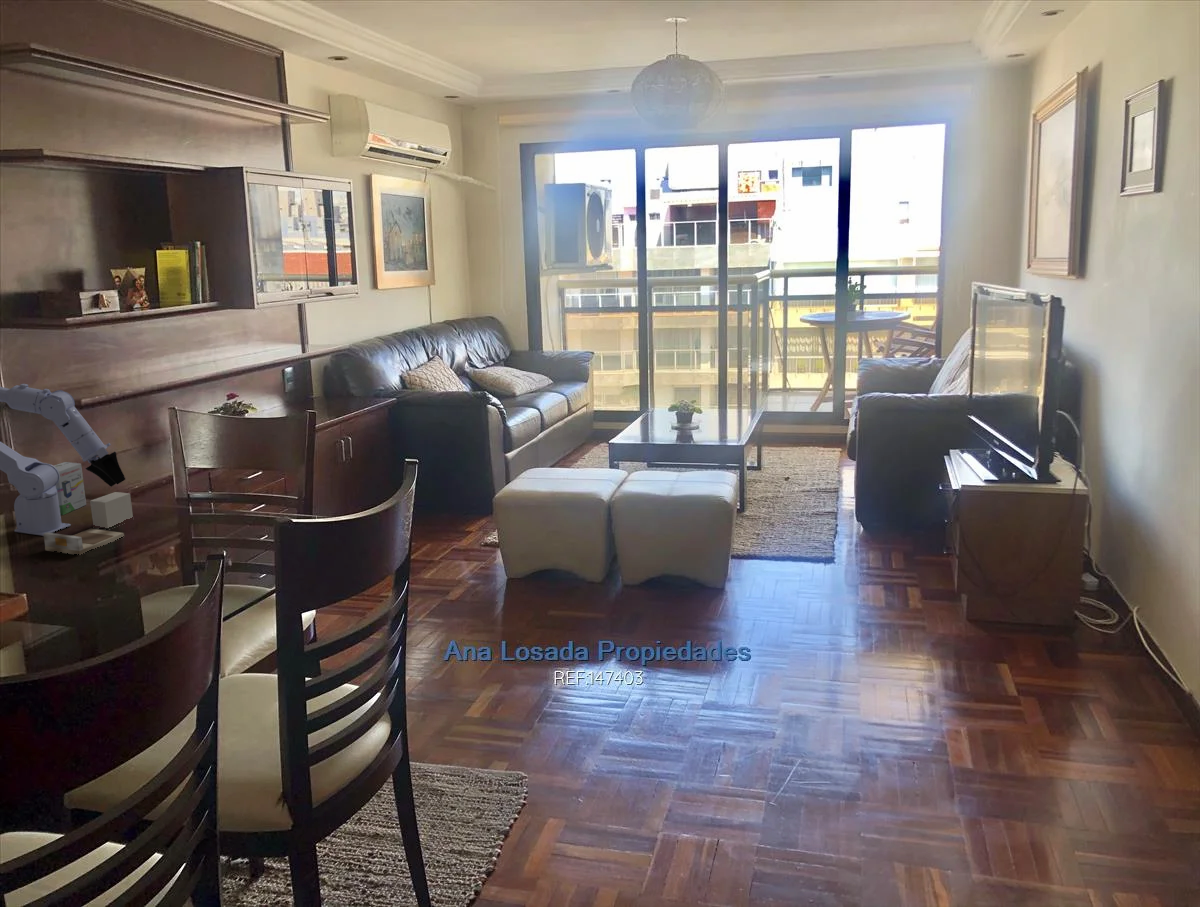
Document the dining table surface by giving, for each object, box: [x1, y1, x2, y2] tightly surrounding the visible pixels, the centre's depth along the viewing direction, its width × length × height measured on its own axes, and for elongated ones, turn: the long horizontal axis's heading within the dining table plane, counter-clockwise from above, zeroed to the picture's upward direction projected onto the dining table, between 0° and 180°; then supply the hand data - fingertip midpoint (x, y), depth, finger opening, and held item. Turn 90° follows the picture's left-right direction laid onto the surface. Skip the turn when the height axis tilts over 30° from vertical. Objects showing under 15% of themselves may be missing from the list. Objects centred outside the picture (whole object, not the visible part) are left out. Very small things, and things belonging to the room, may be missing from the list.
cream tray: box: [43, 528, 125, 556], centre depth 219 cm, size 10×13×4 cm
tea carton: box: [89, 491, 134, 528], centre depth 233 cm, size 5×8×7 cm, turn 162°
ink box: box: [53, 461, 87, 516], centre depth 243 cm, size 9×5×12 cm, turn 168°
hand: (118, 483), depth 228 cm, fingers open, 7 cm apart
